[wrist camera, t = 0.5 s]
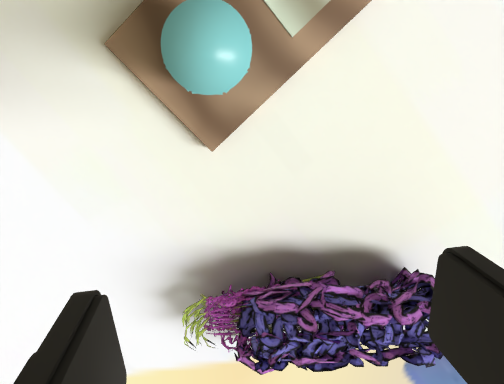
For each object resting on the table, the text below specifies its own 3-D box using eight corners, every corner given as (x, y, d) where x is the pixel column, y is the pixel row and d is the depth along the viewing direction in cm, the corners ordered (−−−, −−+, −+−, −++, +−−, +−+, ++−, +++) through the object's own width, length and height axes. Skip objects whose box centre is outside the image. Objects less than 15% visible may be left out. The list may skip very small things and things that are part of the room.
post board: (294, -157, 26) (329, -256, 18) (383, -15, 30) (443, -45, 23) (109, 45, 30) (71, 35, 22) (212, 148, 34) (211, 172, 26)
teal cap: (208, -6, 26) (207, -27, 21) (258, 55, 28) (270, 51, 22) (155, 50, 27) (140, 44, 21) (208, 105, 29) (207, 113, 23)
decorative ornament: (436, 388, 39) (178, 405, 35) (395, 310, 48) (184, 315, 43) (497, 323, 32) (176, 335, 27) (436, 243, 40) (183, 242, 35)
